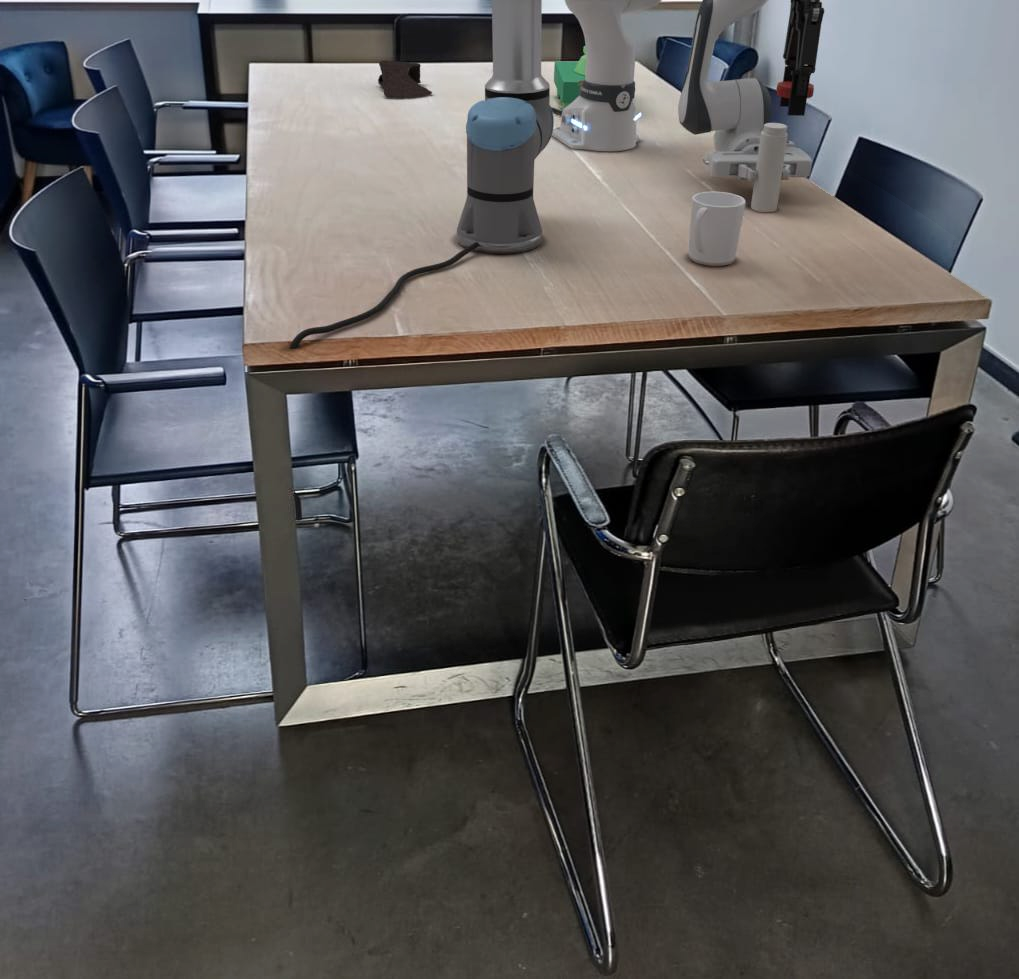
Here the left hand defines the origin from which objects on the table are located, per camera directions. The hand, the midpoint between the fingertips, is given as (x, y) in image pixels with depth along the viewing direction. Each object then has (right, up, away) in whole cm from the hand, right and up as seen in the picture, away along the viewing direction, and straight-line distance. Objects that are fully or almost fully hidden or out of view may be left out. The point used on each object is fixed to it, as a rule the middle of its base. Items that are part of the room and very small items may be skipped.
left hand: (791, 110), depth 187 cm
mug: (-14, -25, +2) cm, 29 cm away
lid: (0, +3, -2) cm, 4 cm away
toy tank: (-27, +39, +106) cm, 116 cm away
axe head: (-77, +45, +113) cm, 144 cm away
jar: (+2, -9, +29) cm, 30 cm away
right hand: (+2, -4, +24) cm, 25 cm away
